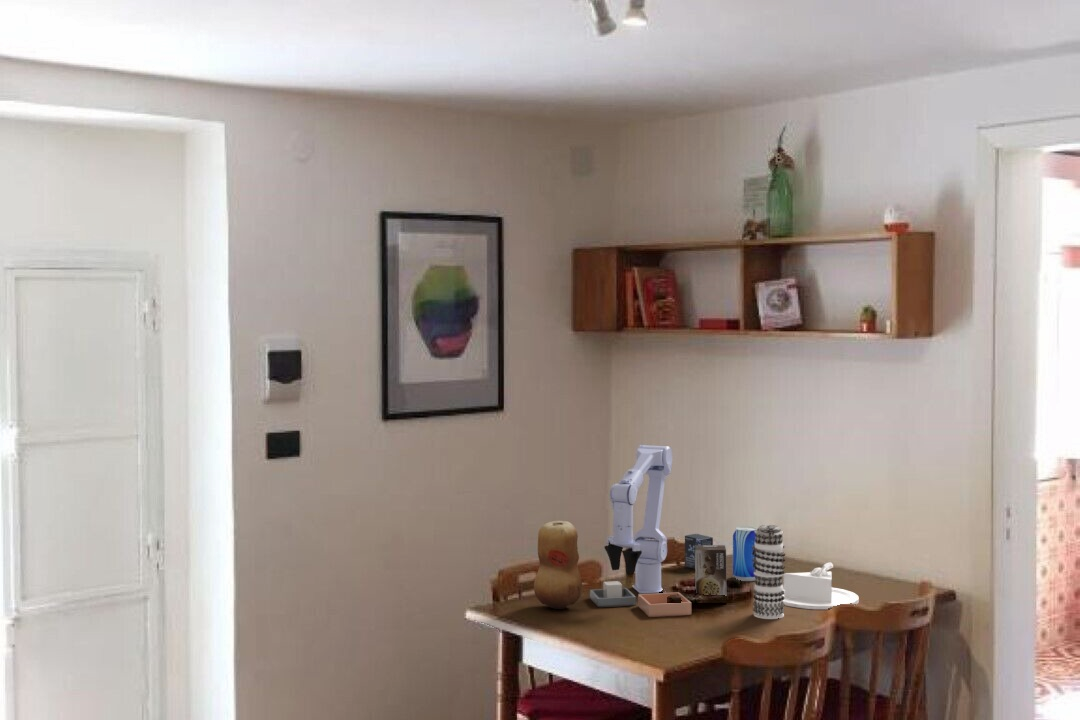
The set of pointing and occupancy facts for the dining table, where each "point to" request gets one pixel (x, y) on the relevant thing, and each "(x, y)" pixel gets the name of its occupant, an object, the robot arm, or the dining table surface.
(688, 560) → the box
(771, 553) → the decorative candle
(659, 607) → the bin
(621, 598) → the tray
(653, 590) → the robot arm
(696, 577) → the coffee box
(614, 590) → the white cube
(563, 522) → the butternut squash
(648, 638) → the dining table surface
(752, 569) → the beer can
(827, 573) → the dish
